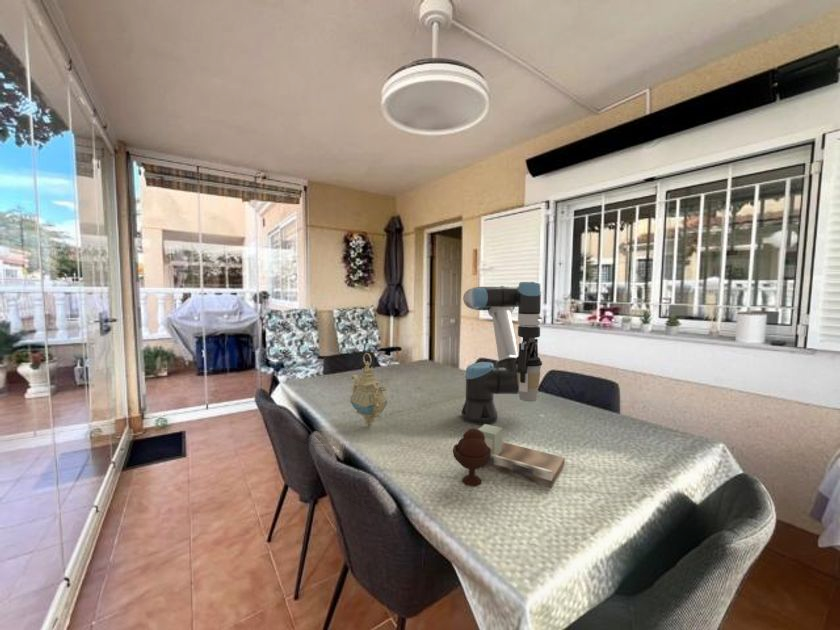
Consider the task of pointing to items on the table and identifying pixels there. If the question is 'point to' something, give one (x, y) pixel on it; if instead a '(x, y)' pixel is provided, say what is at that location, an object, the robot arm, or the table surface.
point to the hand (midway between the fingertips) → (527, 387)
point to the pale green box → (492, 438)
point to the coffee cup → (531, 379)
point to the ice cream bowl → (472, 454)
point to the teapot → (368, 395)
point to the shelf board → (527, 464)
